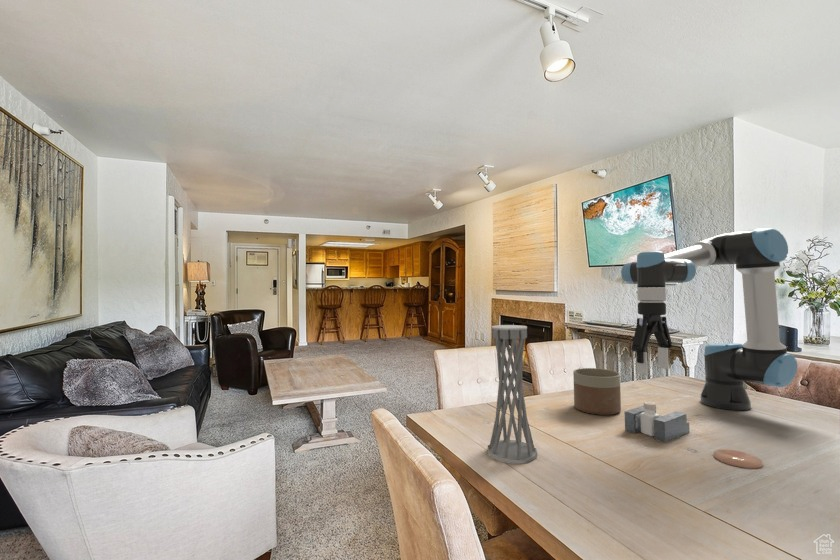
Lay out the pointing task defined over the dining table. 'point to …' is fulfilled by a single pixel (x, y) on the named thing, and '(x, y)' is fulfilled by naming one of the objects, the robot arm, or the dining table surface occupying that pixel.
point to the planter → (597, 391)
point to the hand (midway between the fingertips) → (653, 371)
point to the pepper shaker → (648, 418)
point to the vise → (659, 424)
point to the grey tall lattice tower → (510, 448)
